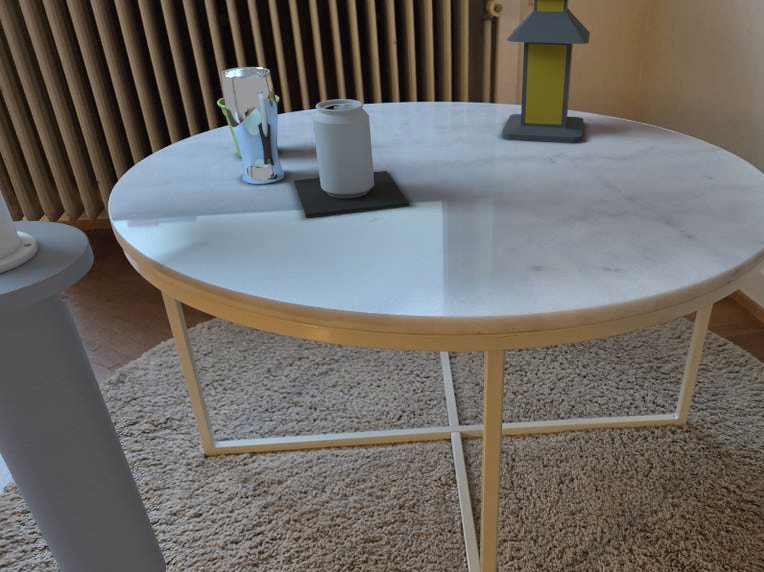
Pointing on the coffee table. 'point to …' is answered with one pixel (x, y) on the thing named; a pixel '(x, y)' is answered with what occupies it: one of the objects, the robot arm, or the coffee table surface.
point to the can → (343, 148)
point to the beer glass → (253, 122)
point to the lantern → (547, 74)
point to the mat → (325, 204)
